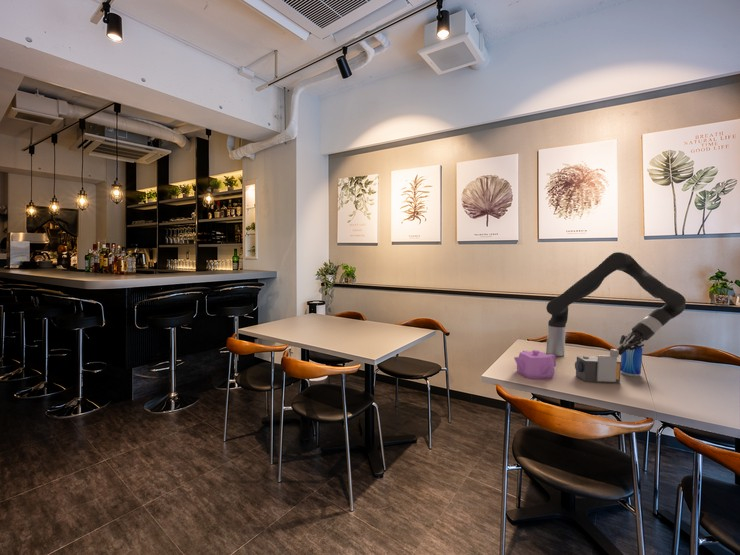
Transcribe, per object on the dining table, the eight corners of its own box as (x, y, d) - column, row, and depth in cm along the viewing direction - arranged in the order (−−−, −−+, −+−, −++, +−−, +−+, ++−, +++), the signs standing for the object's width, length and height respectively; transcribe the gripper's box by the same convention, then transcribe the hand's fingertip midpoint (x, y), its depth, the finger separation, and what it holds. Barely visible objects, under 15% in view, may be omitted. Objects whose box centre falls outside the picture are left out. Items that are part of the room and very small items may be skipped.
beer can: (621, 370, 184) (623, 340, 183) (642, 374, 178) (644, 343, 177) (618, 374, 178) (620, 342, 177) (639, 378, 172) (641, 346, 171)
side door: (599, 381, 163) (600, 350, 162) (595, 379, 166) (597, 348, 165) (617, 382, 163) (618, 350, 162) (613, 380, 166) (614, 348, 165)
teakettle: (555, 373, 178) (557, 349, 177) (551, 383, 164) (552, 357, 163) (520, 367, 188) (520, 344, 187) (512, 376, 173) (513, 351, 173)
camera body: (581, 381, 166) (582, 359, 165) (572, 375, 174) (573, 354, 174) (620, 383, 165) (621, 360, 164) (609, 377, 173) (610, 355, 172)
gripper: (631, 319, 169) (603, 343, 170) (651, 325, 155) (621, 351, 157) (642, 330, 169) (614, 355, 170) (663, 337, 155) (632, 363, 157)
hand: (617, 353), depth 164 cm, fingers closed
